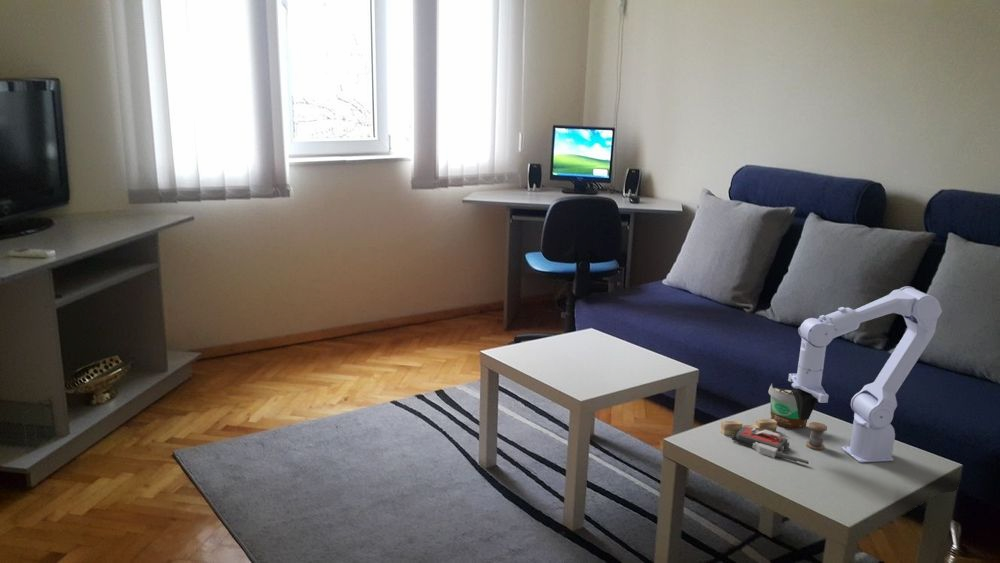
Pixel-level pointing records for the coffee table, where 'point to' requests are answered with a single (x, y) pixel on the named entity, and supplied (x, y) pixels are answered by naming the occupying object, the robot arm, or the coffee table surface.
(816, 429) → the bobbin
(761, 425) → the notched board
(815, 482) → the coffee table surface
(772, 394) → the food container
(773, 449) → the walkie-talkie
